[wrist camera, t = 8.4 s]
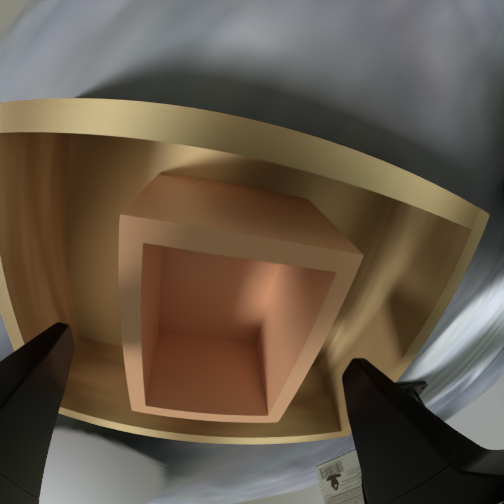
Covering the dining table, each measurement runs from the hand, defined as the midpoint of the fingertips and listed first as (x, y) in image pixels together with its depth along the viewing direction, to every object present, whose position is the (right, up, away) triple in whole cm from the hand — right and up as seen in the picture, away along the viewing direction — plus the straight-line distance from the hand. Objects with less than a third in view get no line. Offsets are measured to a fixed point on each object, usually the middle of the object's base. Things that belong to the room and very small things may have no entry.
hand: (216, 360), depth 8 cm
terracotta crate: (0, +2, +5) cm, 5 cm away
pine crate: (-1, +3, +5) cm, 6 cm away
